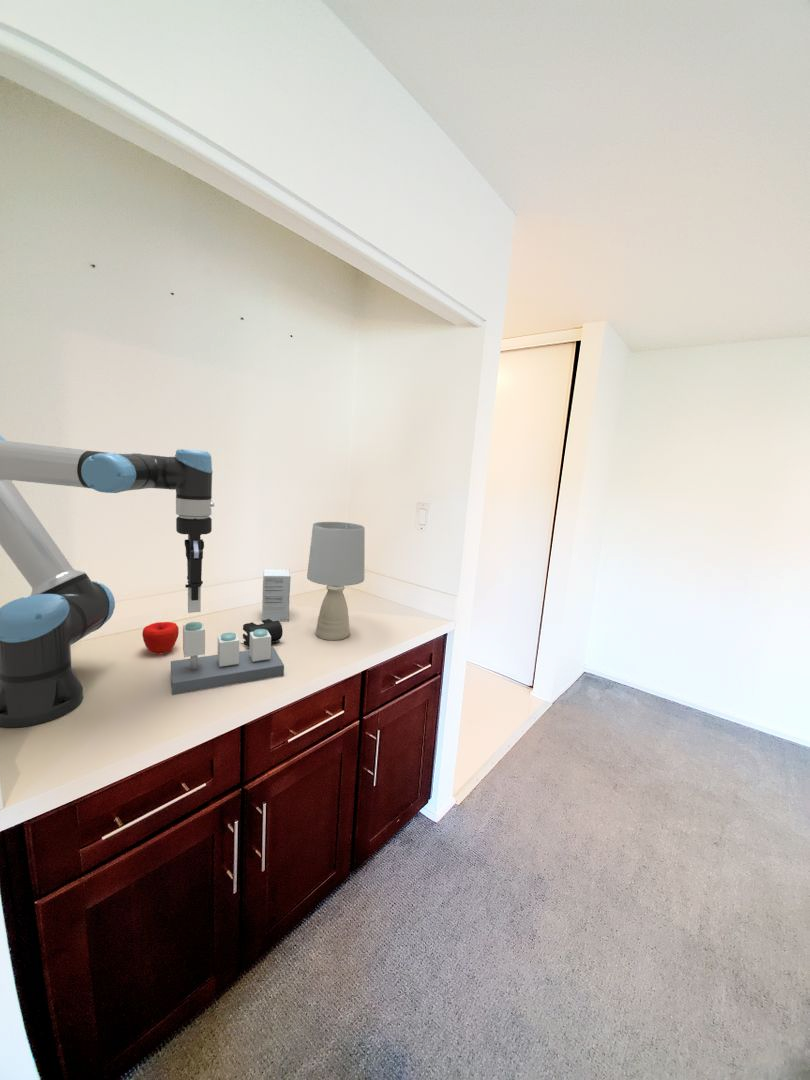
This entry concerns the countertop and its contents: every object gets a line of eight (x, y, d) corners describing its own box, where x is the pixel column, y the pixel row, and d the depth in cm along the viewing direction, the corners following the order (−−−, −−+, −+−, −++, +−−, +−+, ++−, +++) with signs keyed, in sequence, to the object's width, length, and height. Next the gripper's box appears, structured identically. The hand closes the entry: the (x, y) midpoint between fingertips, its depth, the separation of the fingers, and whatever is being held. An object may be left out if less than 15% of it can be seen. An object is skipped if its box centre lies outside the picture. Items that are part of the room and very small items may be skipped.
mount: (172, 695, 100) (171, 663, 98) (170, 671, 110) (170, 642, 108) (283, 675, 113) (284, 647, 111) (273, 656, 123) (273, 630, 122)
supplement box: (262, 612, 156) (263, 568, 153) (288, 612, 159) (289, 568, 156) (261, 622, 147) (262, 575, 144) (289, 621, 150) (290, 575, 147)
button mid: (219, 666, 108) (219, 639, 106) (217, 658, 111) (217, 633, 110) (238, 663, 110) (239, 637, 109) (236, 656, 114) (236, 630, 113)
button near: (184, 657, 103) (184, 629, 102) (183, 649, 107) (182, 622, 105) (205, 654, 105) (205, 626, 104) (203, 646, 109) (203, 620, 108)
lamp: (294, 639, 136) (298, 525, 129) (319, 620, 153) (324, 519, 147) (348, 649, 131) (356, 532, 125) (367, 629, 149) (375, 525, 143)
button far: (252, 661, 112) (253, 635, 110) (249, 654, 115) (249, 629, 114) (270, 658, 114) (271, 633, 113) (266, 651, 118) (267, 627, 117)
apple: (167, 641, 127) (167, 616, 125) (185, 650, 122) (185, 624, 121) (136, 651, 119) (135, 625, 118) (153, 661, 115) (153, 633, 113)
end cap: (251, 651, 125) (252, 630, 124) (241, 643, 130) (241, 622, 129) (282, 643, 132) (283, 623, 131) (271, 636, 137) (272, 616, 136)
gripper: (214, 520, 97) (214, 618, 101) (208, 512, 108) (208, 601, 112) (177, 520, 93) (178, 622, 97) (175, 512, 104) (175, 604, 108)
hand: (194, 611), depth 104 cm, fingers closed
